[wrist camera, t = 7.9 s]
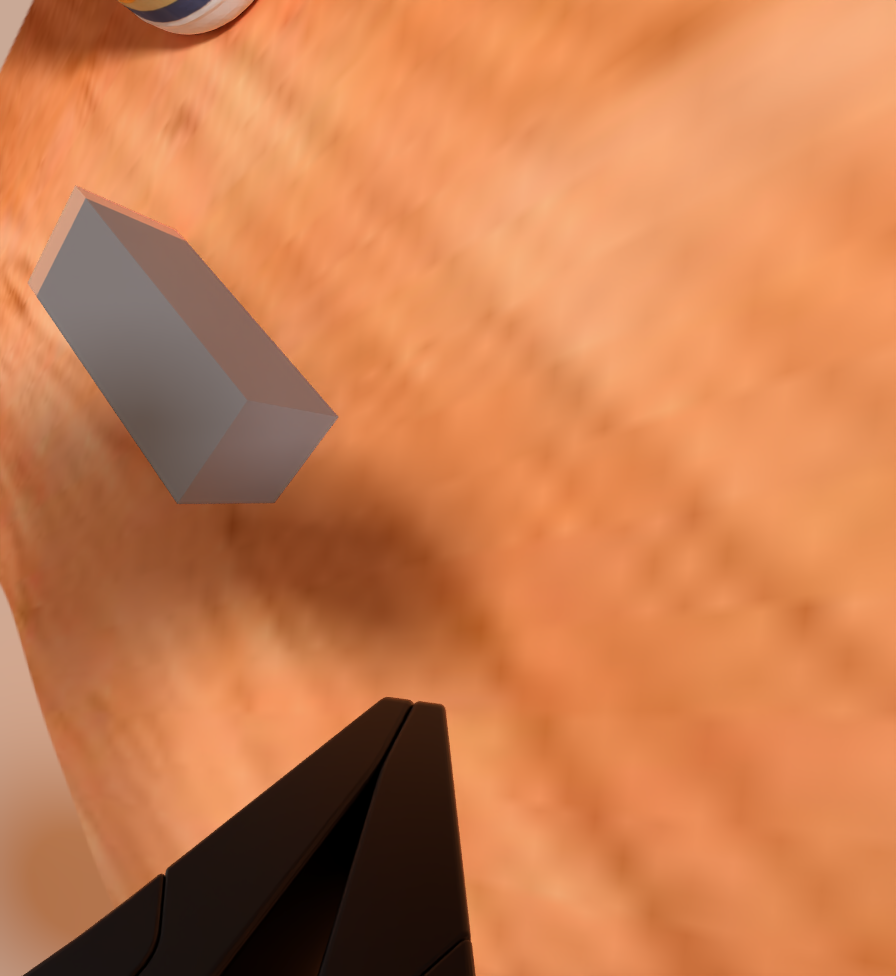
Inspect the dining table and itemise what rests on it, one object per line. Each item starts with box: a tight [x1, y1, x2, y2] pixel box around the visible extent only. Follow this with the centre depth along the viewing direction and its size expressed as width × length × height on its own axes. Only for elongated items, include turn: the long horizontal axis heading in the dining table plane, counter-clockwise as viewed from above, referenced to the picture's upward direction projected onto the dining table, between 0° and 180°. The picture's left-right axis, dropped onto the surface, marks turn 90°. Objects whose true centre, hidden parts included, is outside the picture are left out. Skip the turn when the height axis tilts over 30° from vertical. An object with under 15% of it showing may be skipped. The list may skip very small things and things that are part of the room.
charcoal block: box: [28, 185, 338, 504], centre depth 27 cm, size 5×5×14 cm
